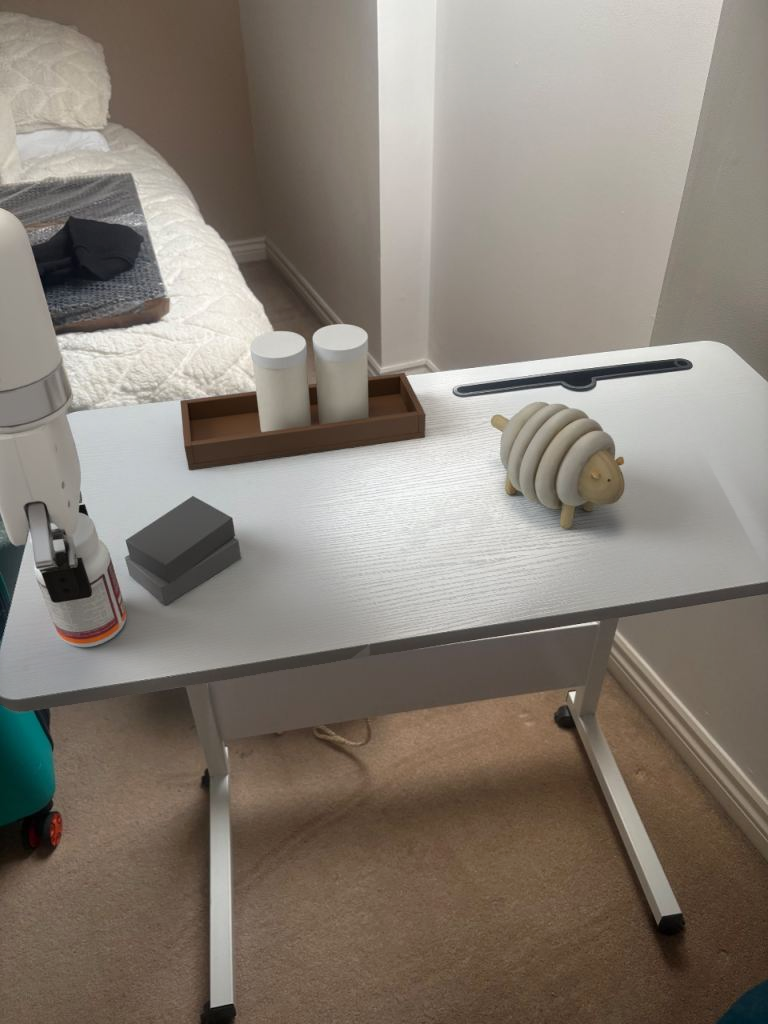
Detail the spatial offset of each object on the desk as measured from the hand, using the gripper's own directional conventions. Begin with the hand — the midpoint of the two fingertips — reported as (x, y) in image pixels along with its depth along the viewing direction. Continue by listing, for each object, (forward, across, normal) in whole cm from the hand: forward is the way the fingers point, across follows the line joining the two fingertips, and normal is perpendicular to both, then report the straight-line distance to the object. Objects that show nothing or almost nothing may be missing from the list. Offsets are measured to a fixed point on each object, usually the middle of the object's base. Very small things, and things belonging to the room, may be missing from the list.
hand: (74, 568), depth 71 cm
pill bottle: (+7, 0, 0) cm, 7 cm away
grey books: (+7, -6, +9) cm, 13 cm away
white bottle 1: (+6, -27, +22) cm, 35 cm away
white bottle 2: (+6, -27, +28) cm, 40 cm away
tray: (+7, -27, +24) cm, 36 cm away
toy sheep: (+7, -8, +47) cm, 48 cm away
